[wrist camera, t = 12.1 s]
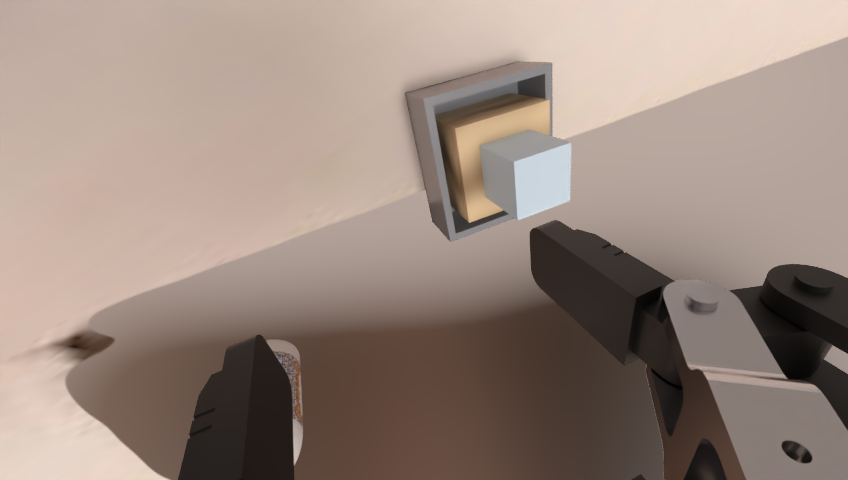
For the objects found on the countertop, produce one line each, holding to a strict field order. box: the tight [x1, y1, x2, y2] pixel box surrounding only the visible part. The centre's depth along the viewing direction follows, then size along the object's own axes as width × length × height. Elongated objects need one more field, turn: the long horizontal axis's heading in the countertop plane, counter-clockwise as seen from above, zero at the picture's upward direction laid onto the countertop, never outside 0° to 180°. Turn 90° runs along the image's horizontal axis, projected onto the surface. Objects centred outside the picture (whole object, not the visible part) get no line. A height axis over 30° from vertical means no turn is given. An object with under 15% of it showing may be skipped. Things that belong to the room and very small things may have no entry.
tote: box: [405, 62, 552, 242], centre depth 39 cm, size 16×14×6 cm
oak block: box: [435, 93, 550, 223], centre depth 38 cm, size 10×10×7 cm
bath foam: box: [266, 339, 303, 465], centre depth 37 cm, size 7×7×20 cm
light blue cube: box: [479, 129, 571, 220], centre depth 32 cm, size 6×6×6 cm
